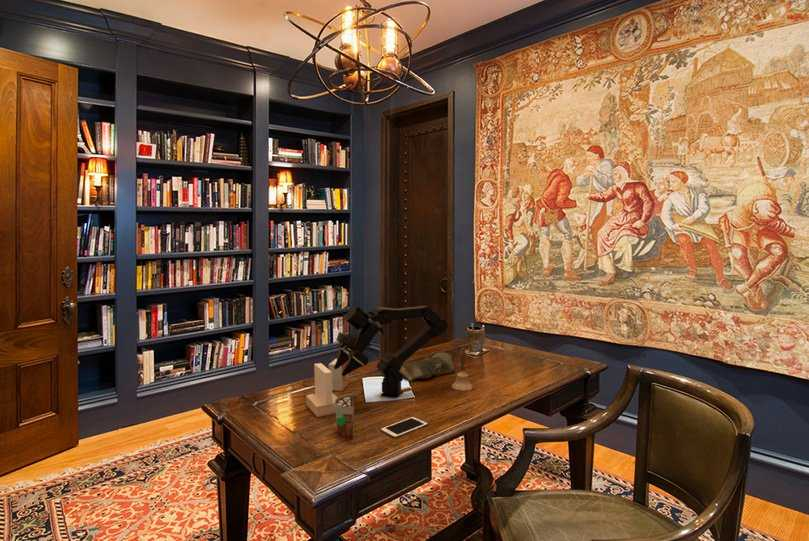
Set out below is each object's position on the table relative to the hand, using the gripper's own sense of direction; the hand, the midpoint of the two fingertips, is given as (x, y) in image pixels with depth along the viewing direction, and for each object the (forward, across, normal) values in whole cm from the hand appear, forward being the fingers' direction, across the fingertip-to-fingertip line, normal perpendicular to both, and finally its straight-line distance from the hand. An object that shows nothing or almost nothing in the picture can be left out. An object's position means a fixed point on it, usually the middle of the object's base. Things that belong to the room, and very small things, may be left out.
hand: (338, 372), depth 165 cm
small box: (+5, -18, +12) cm, 22 cm away
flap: (+11, +1, +2) cm, 11 cm away
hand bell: (-24, +4, +45) cm, 51 cm away
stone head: (-21, -20, +42) cm, 51 cm away
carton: (+13, 0, +4) cm, 13 cm away
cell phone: (+1, +27, +19) cm, 33 cm away
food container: (+13, +21, +5) cm, 25 cm away
